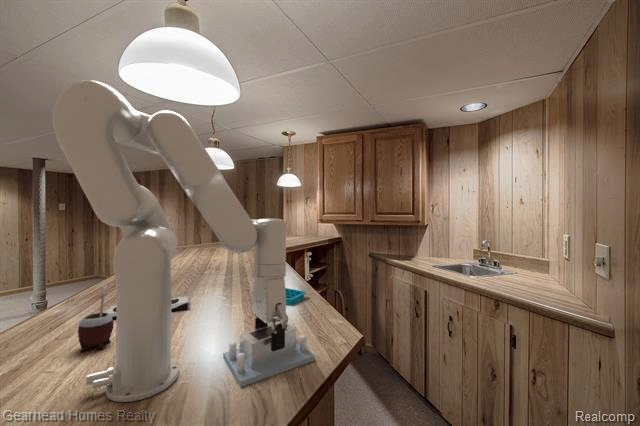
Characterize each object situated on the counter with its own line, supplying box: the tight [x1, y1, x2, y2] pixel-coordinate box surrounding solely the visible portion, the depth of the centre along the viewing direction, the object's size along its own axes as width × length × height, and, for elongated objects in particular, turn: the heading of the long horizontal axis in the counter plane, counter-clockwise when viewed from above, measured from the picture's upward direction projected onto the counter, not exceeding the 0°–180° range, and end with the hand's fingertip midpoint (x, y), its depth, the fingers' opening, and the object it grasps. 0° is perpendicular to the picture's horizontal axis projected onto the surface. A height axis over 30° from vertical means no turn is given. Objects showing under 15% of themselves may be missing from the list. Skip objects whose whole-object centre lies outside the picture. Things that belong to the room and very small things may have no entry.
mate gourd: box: [77, 283, 114, 354], centre depth 70 cm, size 8×8×15 cm
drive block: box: [239, 321, 297, 369], centre depth 65 cm, size 12×6×6 cm, turn 132°
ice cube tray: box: [285, 287, 307, 306], centre depth 111 cm, size 12×20×3 cm, turn 60°
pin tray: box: [222, 325, 316, 388], centre depth 65 cm, size 18×13×5 cm
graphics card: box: [105, 295, 191, 321], centre depth 95 cm, size 10×3×25 cm
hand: (269, 340), depth 65 cm, fingers open, 9 cm apart
